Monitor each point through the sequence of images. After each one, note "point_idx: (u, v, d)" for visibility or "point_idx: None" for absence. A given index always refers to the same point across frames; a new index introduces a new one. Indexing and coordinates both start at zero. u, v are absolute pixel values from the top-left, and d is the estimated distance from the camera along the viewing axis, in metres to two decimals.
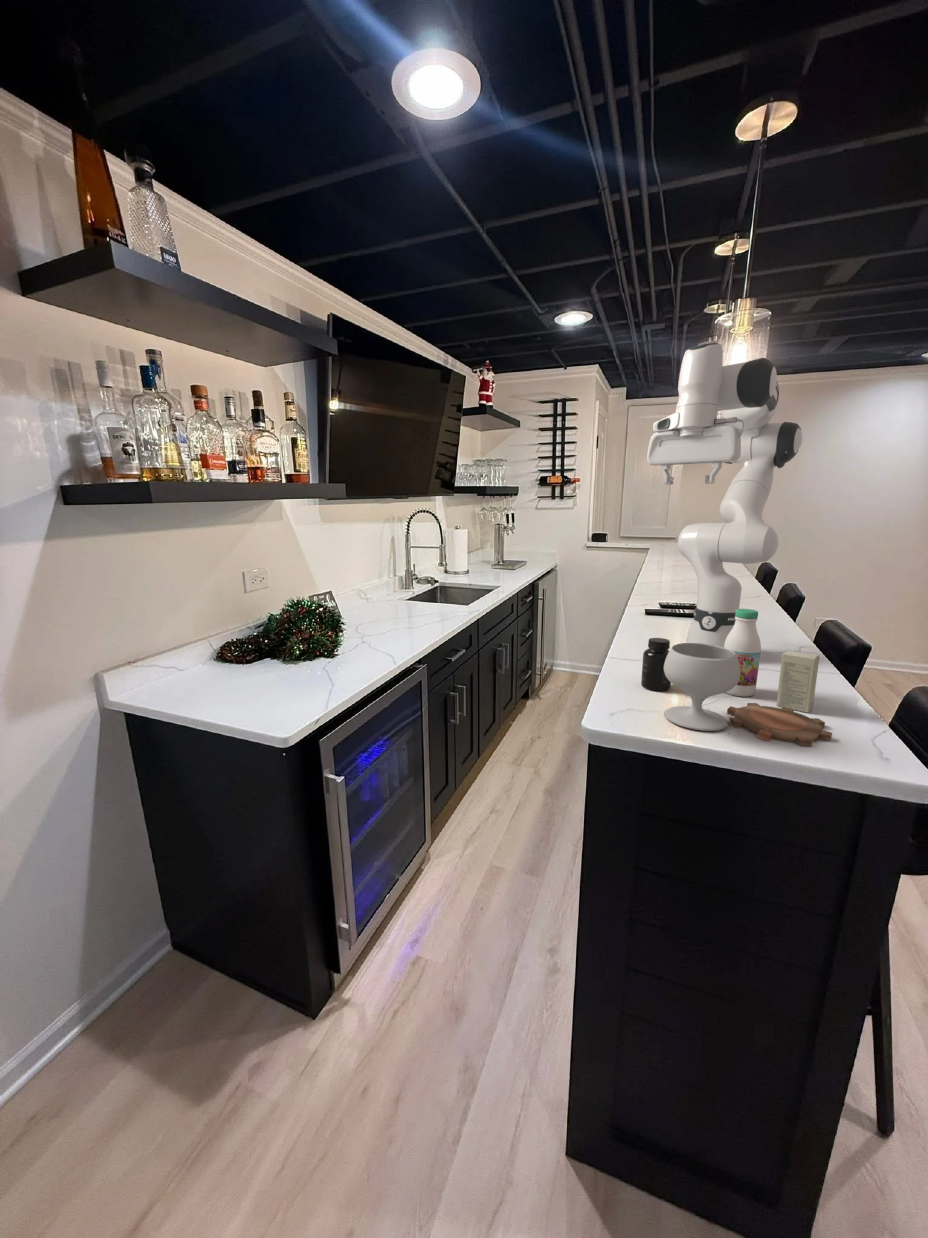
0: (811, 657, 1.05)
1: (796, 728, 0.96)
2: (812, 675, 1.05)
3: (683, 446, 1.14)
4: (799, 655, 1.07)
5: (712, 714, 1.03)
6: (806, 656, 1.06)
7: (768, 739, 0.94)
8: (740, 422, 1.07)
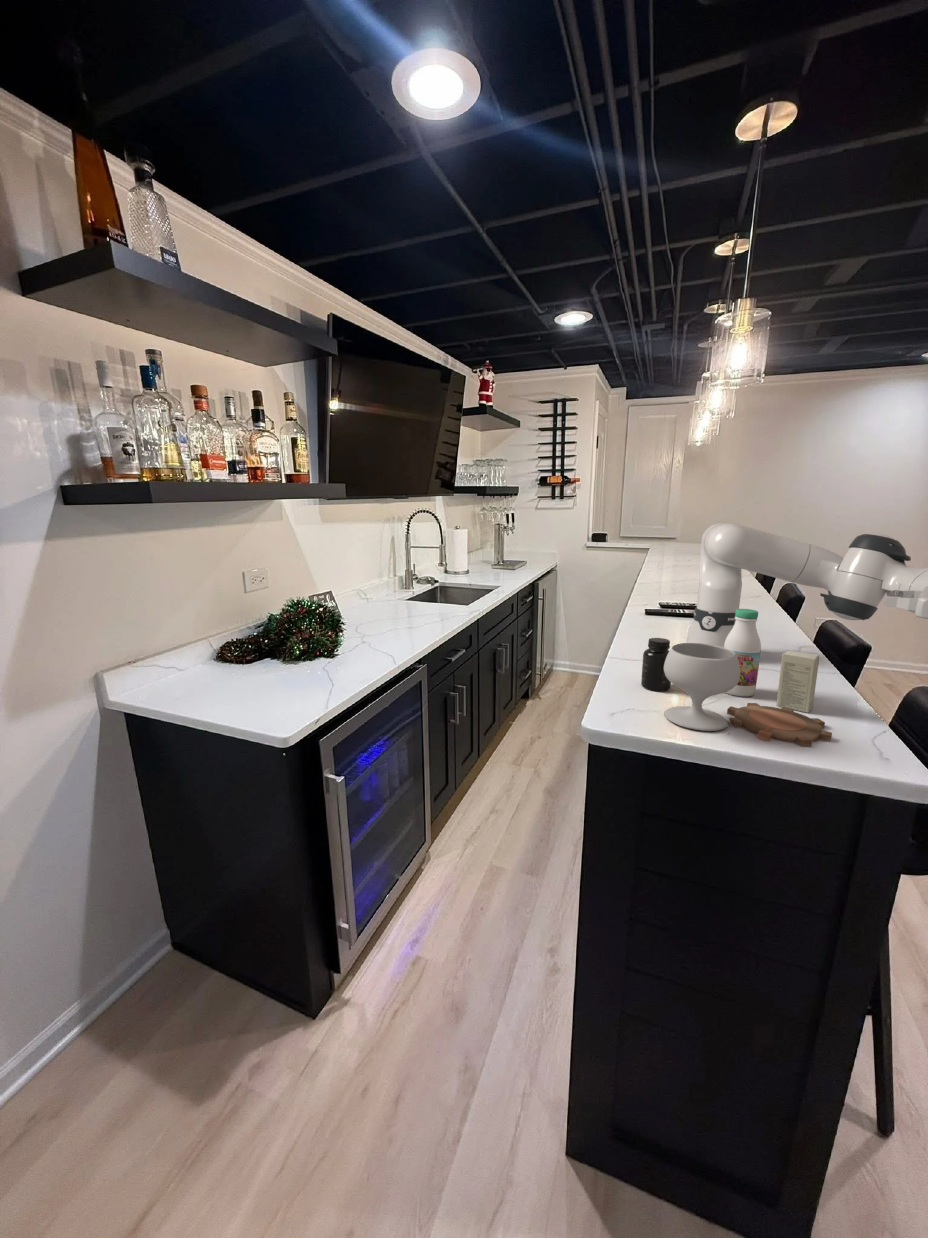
0: (811, 657, 1.05)
1: (796, 728, 0.96)
2: (812, 675, 1.05)
3: None
4: (799, 655, 1.07)
5: (712, 714, 1.03)
6: (806, 656, 1.06)
7: (768, 739, 0.94)
8: None
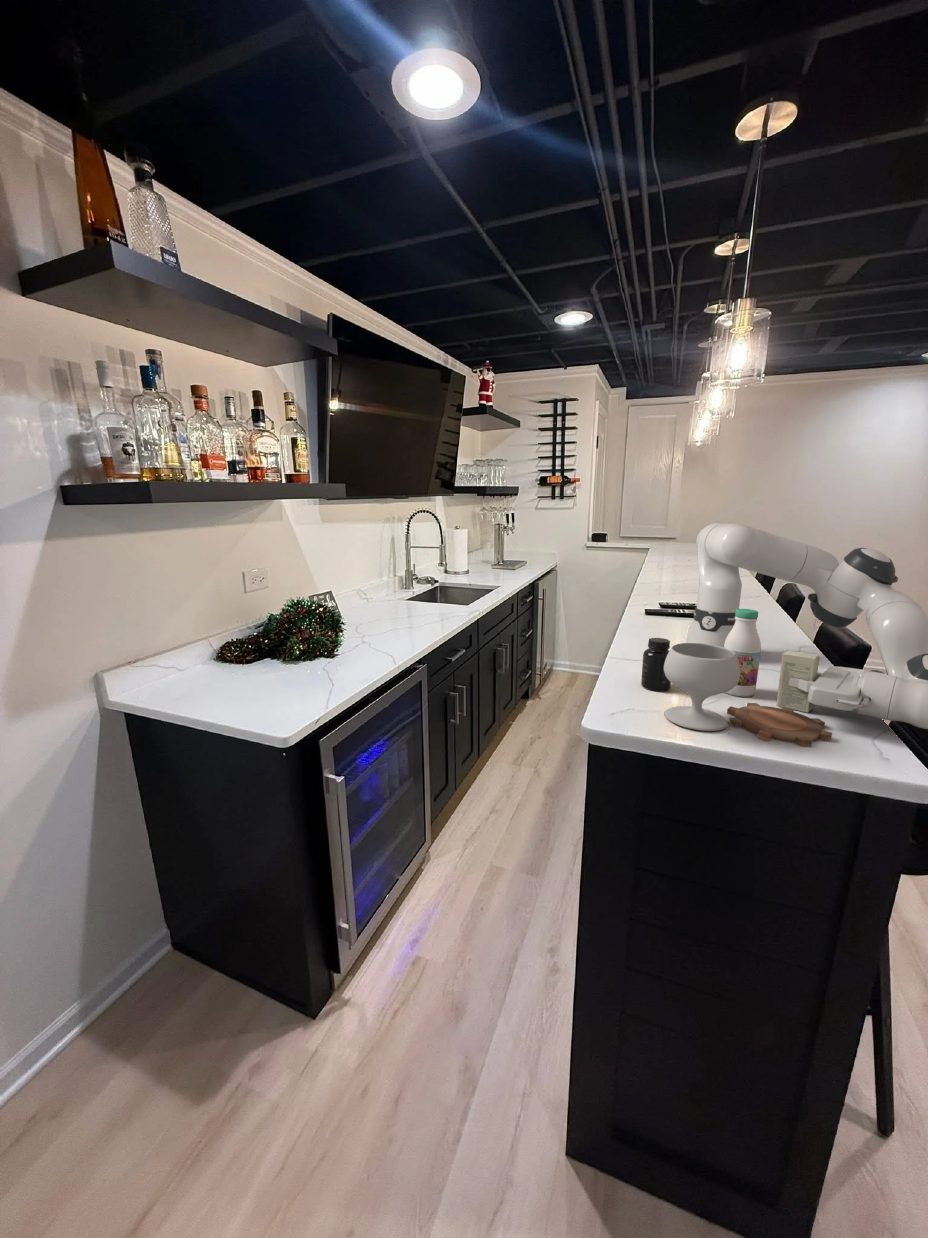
0: (811, 657, 1.05)
1: (796, 728, 0.96)
2: (812, 675, 1.05)
3: (842, 678, 1.04)
4: (799, 655, 1.07)
5: (712, 714, 1.03)
6: (806, 656, 1.06)
7: (768, 739, 0.94)
8: (857, 704, 0.94)
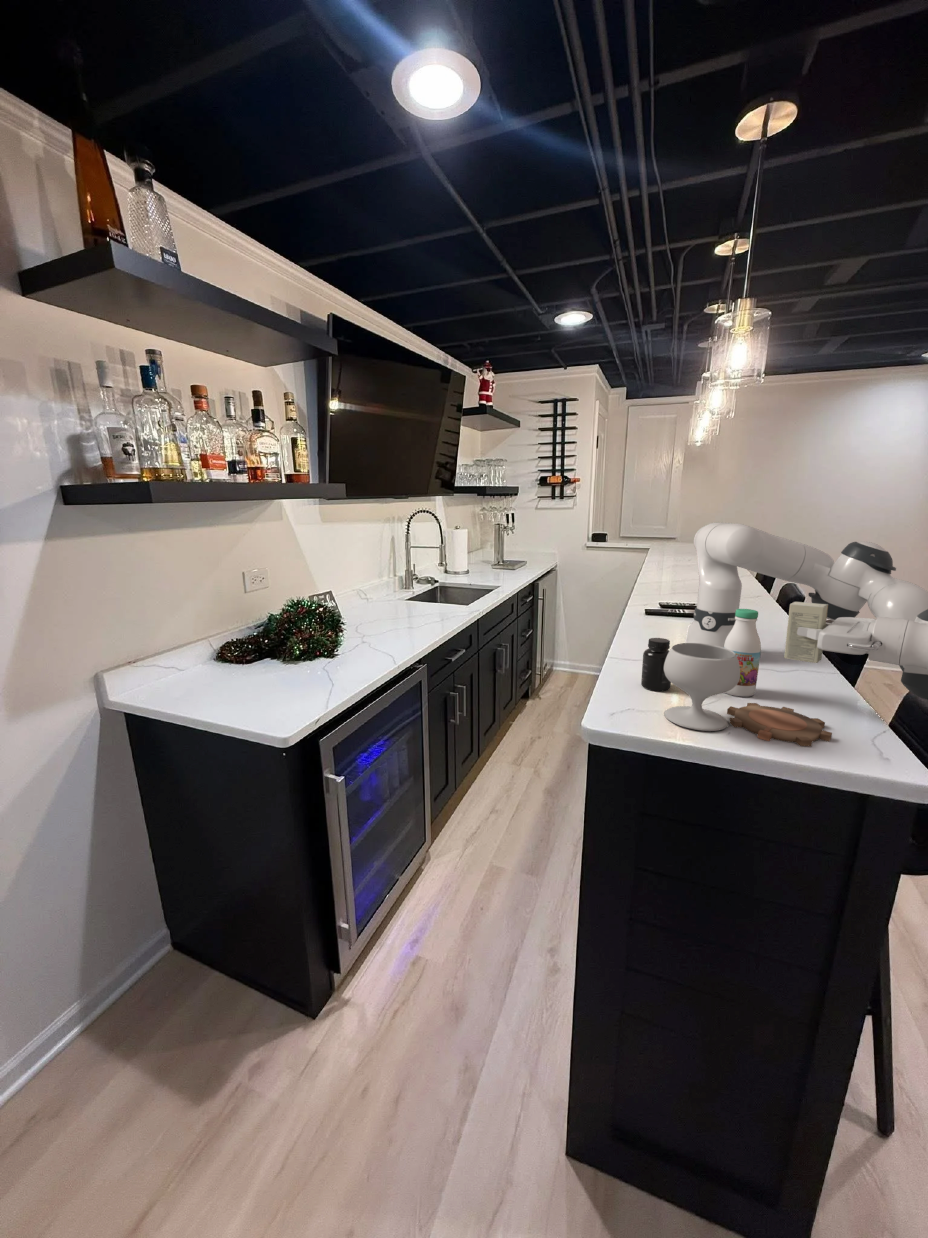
0: (820, 606, 1.03)
1: (796, 728, 0.96)
2: (821, 624, 1.02)
3: (852, 625, 1.02)
4: (807, 604, 1.04)
5: (712, 714, 1.03)
6: (814, 605, 1.03)
7: (768, 739, 0.94)
8: None
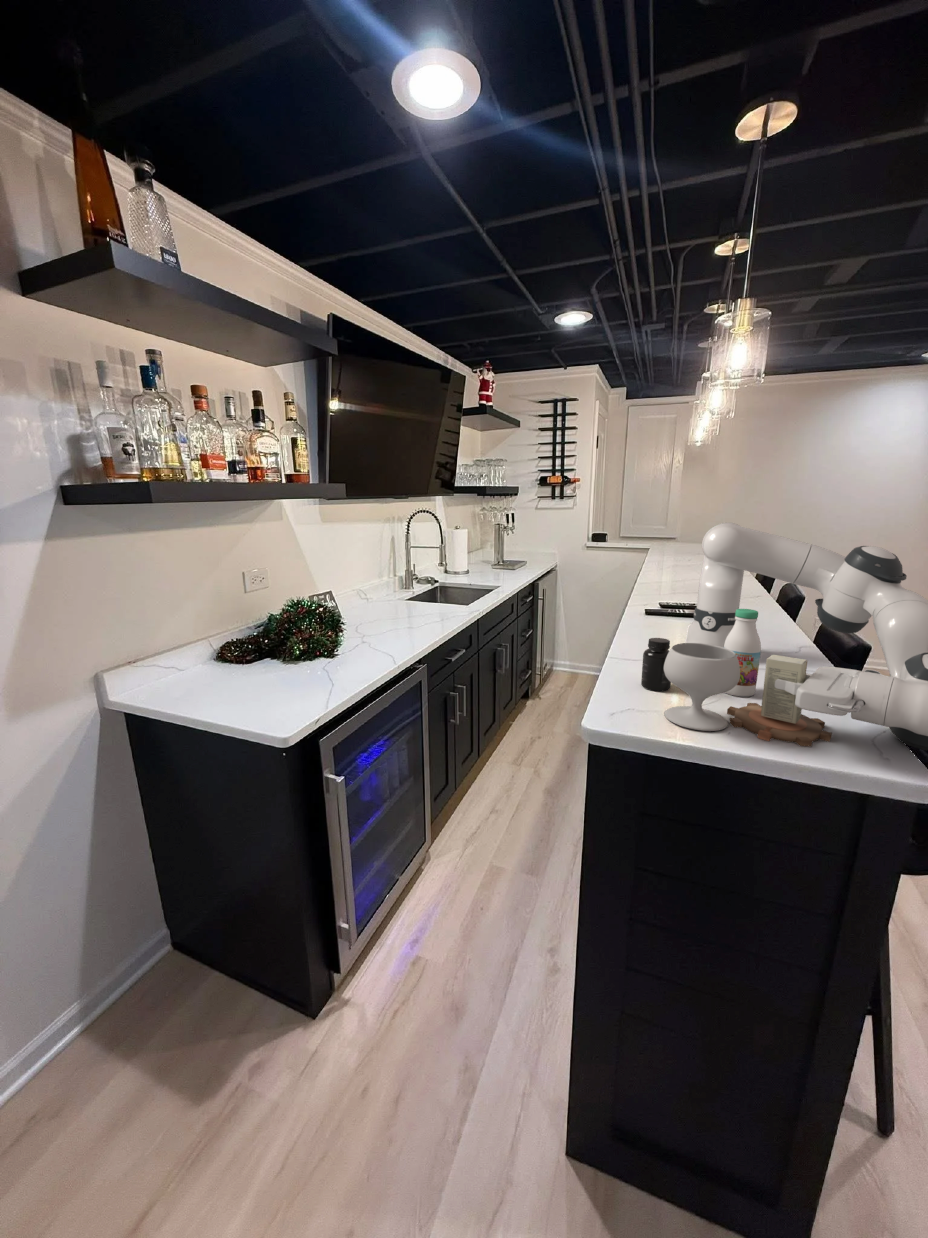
0: (798, 662, 0.95)
1: (796, 728, 0.96)
2: (799, 682, 0.95)
3: (833, 679, 0.93)
4: (785, 660, 0.96)
5: (712, 714, 1.03)
6: (793, 661, 0.95)
7: (768, 739, 0.94)
8: (850, 708, 0.83)
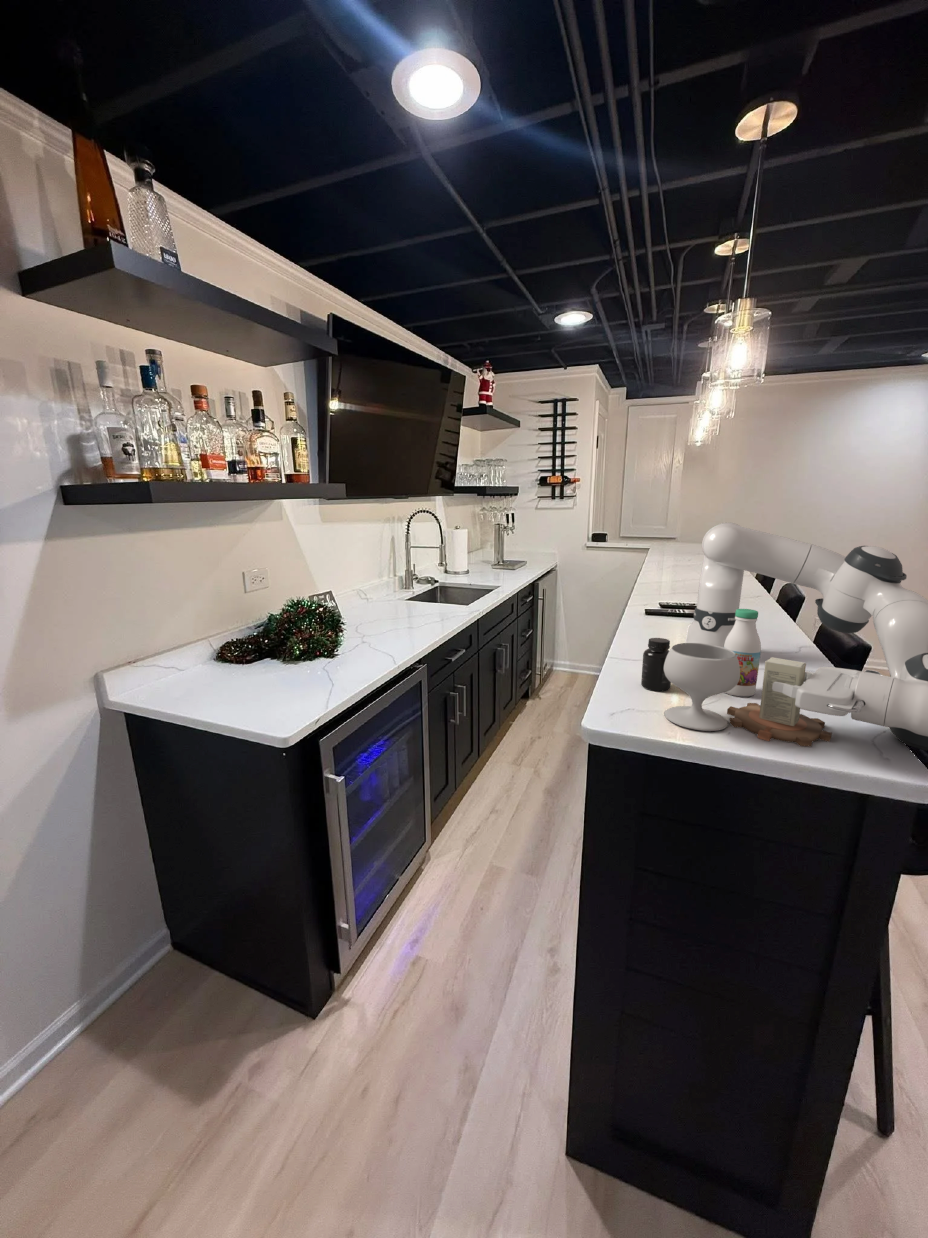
0: (797, 665, 0.95)
1: (796, 728, 0.96)
2: (798, 685, 0.95)
3: (833, 679, 0.93)
4: (784, 663, 0.96)
5: (712, 714, 1.03)
6: (791, 664, 0.96)
7: (768, 739, 0.94)
8: (850, 708, 0.83)
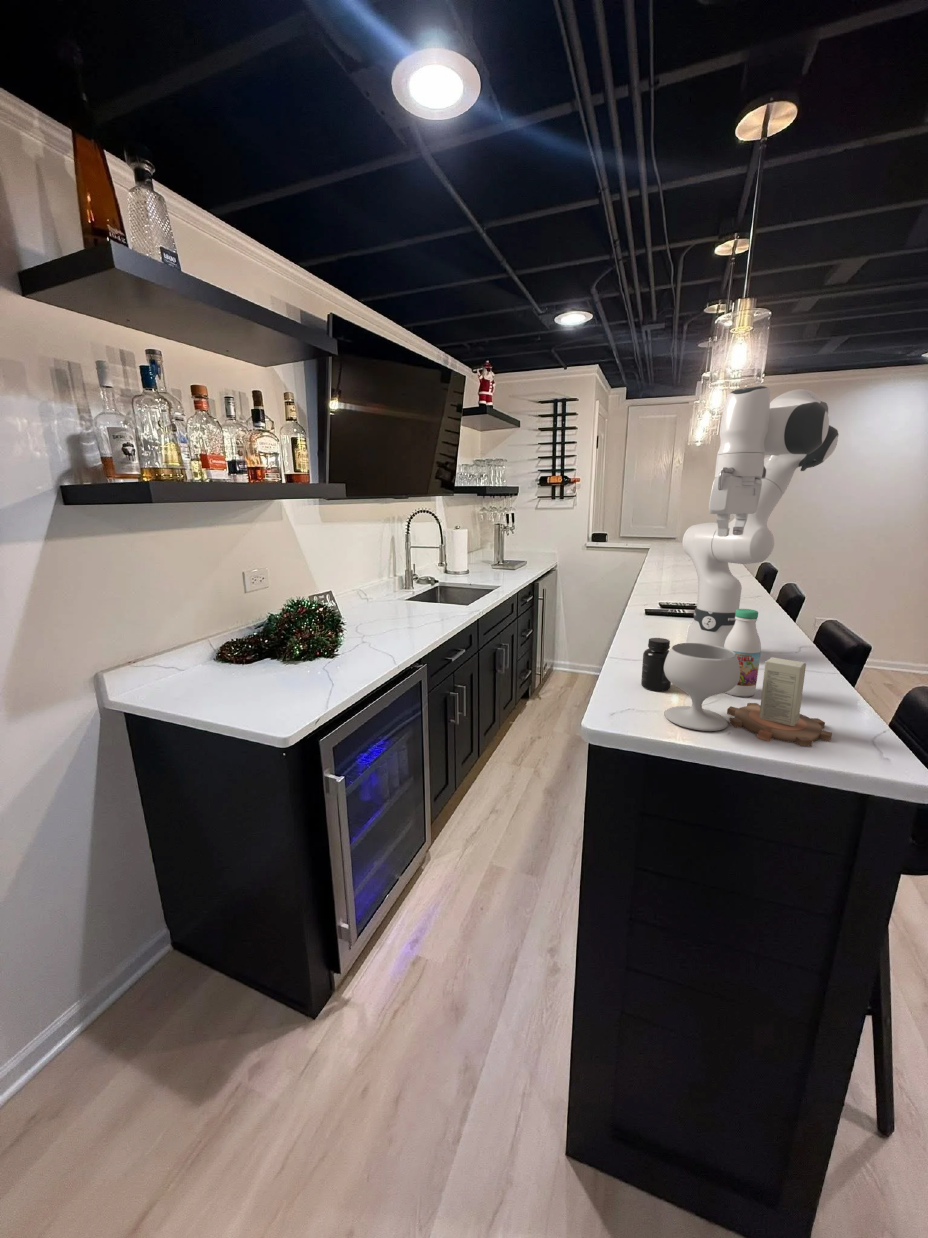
0: (797, 665, 0.95)
1: (796, 728, 0.96)
2: (798, 685, 0.95)
3: None
4: (784, 663, 0.96)
5: (712, 714, 1.03)
6: (791, 664, 0.96)
7: (768, 739, 0.94)
8: None
